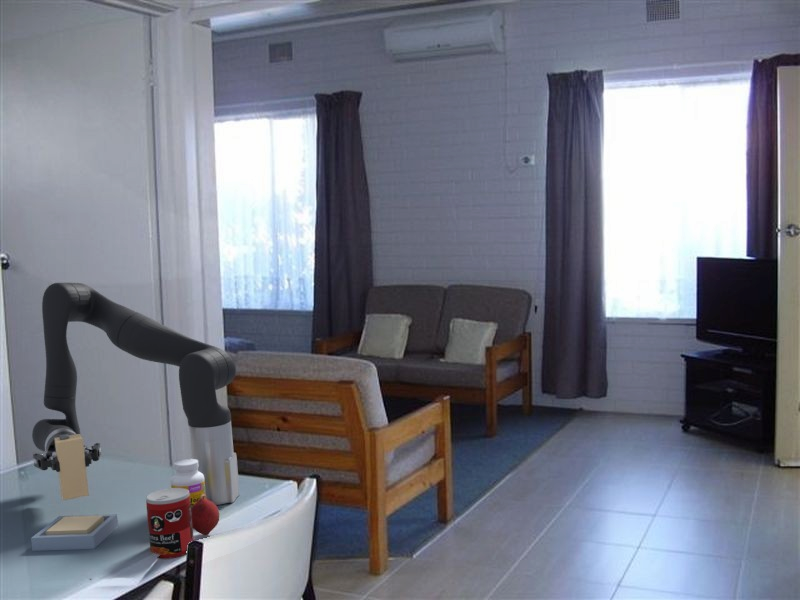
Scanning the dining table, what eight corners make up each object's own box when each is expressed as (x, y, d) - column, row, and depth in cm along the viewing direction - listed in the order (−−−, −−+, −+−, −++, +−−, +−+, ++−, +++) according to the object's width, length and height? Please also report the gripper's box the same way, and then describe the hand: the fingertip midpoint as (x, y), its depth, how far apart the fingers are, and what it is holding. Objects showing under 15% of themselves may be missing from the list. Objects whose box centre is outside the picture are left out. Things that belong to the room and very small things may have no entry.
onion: (213, 540, 171) (210, 500, 170) (185, 540, 172) (182, 500, 172) (225, 530, 177) (222, 490, 176) (198, 529, 178) (194, 490, 177)
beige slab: (104, 530, 178) (103, 515, 178) (88, 545, 170) (86, 529, 170) (65, 531, 179) (64, 516, 178) (47, 546, 171) (45, 531, 170)
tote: (118, 531, 180) (117, 514, 180) (94, 553, 168) (92, 535, 168) (60, 533, 181) (59, 516, 180) (32, 555, 169) (31, 537, 169)
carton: (85, 489, 188) (79, 430, 187) (88, 495, 184) (82, 434, 183) (60, 494, 186) (54, 434, 185) (63, 500, 182) (56, 438, 180)
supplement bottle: (191, 531, 177) (185, 468, 176) (167, 526, 181) (162, 464, 180) (214, 520, 183) (209, 459, 182) (191, 516, 187) (186, 456, 185)
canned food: (142, 557, 165) (137, 499, 164) (168, 541, 172) (164, 486, 171) (176, 561, 162) (171, 502, 161) (202, 545, 169) (197, 488, 168)
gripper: (27, 436, 194) (32, 452, 178) (95, 425, 200) (107, 440, 185) (30, 470, 194) (37, 489, 179) (99, 458, 201) (111, 475, 185)
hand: (72, 464), depth 182 cm, fingers closed on carton, 5 cm apart
